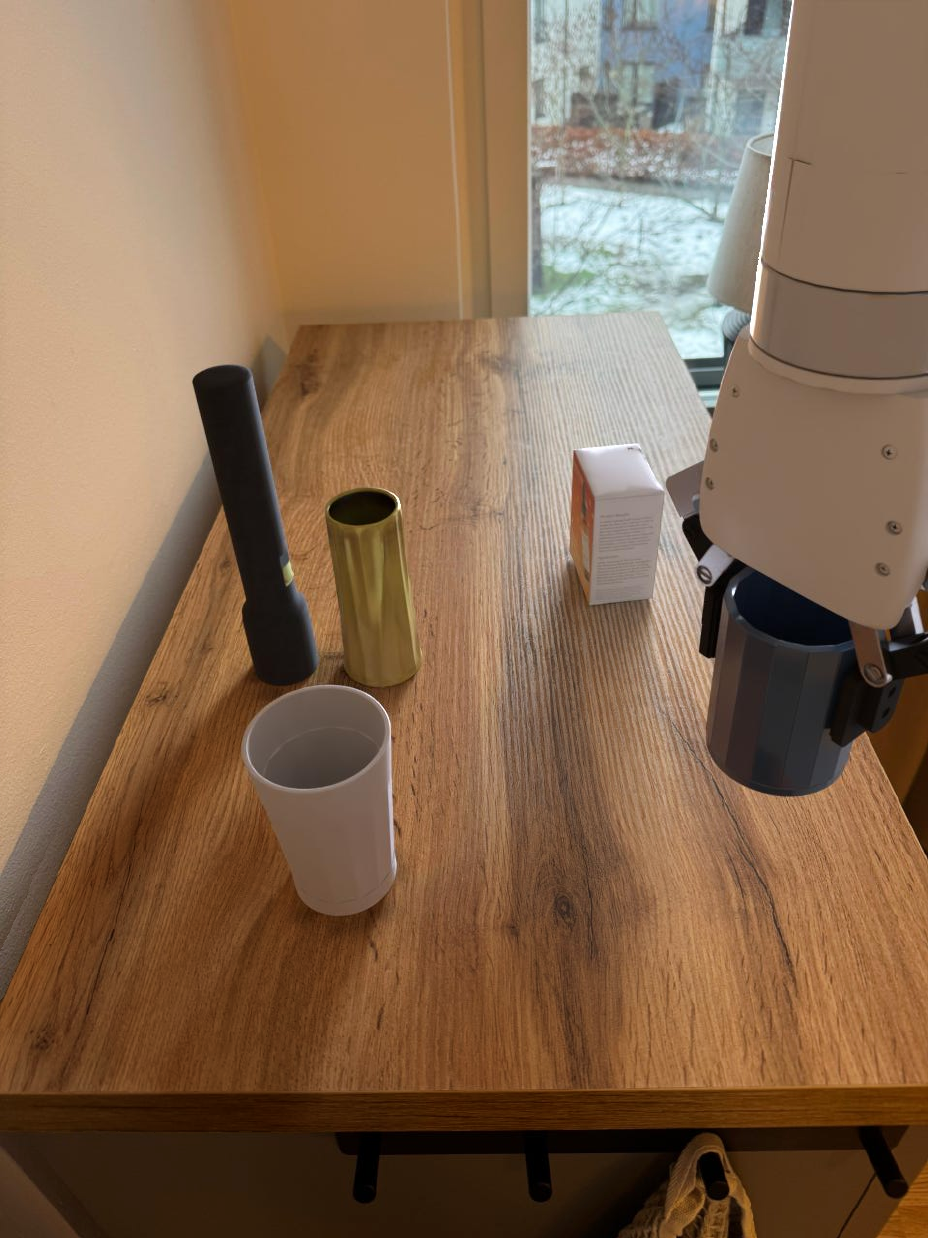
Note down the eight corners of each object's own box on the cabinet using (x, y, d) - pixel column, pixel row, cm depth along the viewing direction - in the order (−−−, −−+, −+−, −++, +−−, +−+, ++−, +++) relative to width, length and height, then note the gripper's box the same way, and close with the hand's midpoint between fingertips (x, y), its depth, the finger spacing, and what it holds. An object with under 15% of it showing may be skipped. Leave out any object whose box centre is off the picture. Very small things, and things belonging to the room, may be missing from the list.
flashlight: (243, 680, 71) (302, 691, 69) (164, 388, 56) (238, 395, 54) (272, 639, 74) (329, 649, 73) (205, 355, 59) (275, 361, 58)
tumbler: (853, 716, 47) (893, 573, 41) (837, 814, 42) (879, 667, 36) (721, 686, 49) (741, 547, 44) (691, 775, 44) (709, 631, 39)
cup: (256, 907, 55) (212, 772, 47) (317, 806, 61) (286, 672, 53) (377, 944, 53) (351, 809, 45) (429, 837, 58) (413, 701, 51)
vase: (404, 696, 68) (384, 537, 59) (330, 679, 70) (301, 522, 61) (434, 645, 73) (420, 489, 64) (364, 630, 75) (341, 477, 66)
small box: (568, 552, 82) (571, 447, 75) (630, 546, 82) (638, 440, 75) (587, 607, 76) (592, 498, 69) (654, 600, 76) (665, 490, 69)
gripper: (1190, 349, 28) (1011, 753, 39) (742, 235, 39) (703, 572, 50) (1058, 429, 25) (905, 843, 36) (613, 279, 36) (601, 629, 47)
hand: (787, 682), depth 43 cm, fingers closed on tumbler, 6 cm apart
